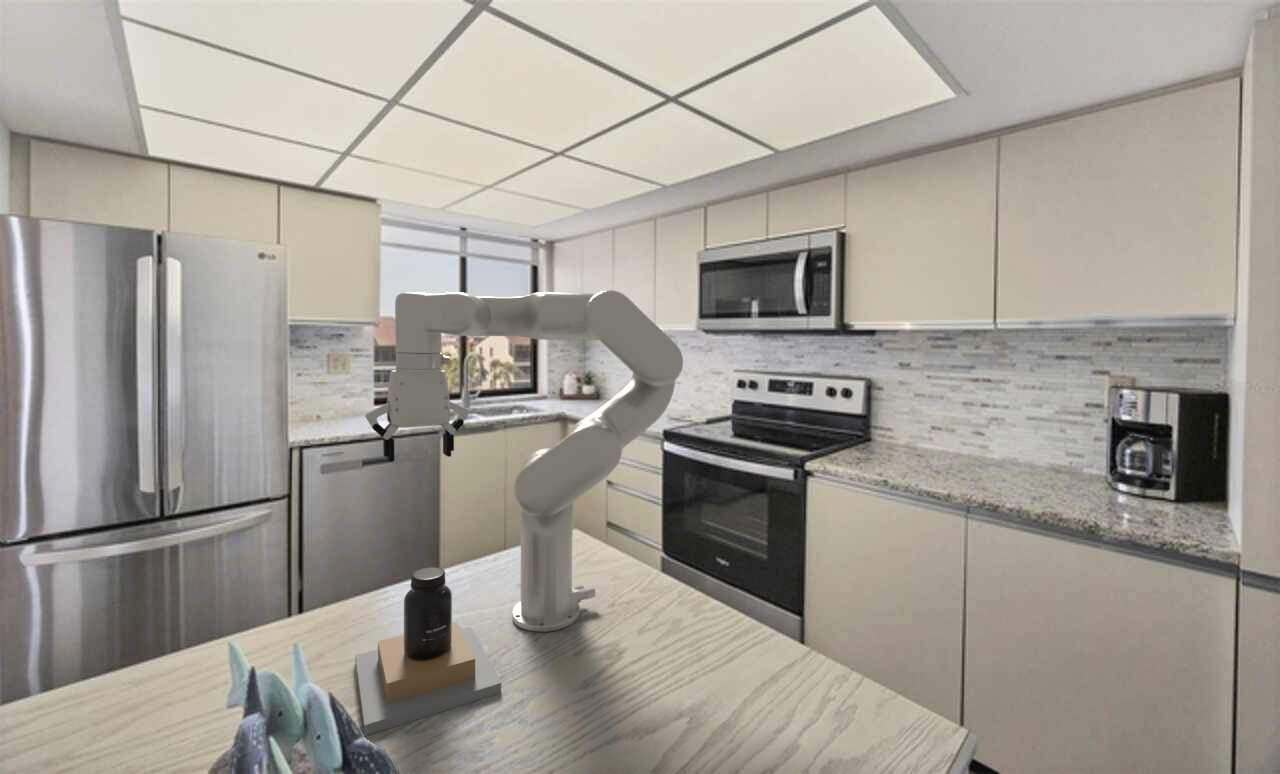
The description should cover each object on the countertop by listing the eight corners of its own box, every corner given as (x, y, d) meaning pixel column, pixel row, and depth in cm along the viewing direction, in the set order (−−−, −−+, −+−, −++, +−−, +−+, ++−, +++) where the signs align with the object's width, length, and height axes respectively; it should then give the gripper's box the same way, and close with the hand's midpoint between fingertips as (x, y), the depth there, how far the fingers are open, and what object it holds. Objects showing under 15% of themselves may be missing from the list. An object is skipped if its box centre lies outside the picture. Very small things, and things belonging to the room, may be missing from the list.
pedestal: (470, 634, 96) (470, 609, 95) (501, 692, 80) (501, 663, 80) (355, 664, 86) (354, 636, 86) (364, 736, 71) (364, 703, 71)
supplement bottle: (435, 665, 79) (434, 585, 78) (394, 658, 81) (392, 580, 79) (460, 639, 86) (460, 566, 85) (422, 634, 87) (420, 561, 86)
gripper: (462, 362, 105) (462, 449, 106) (361, 362, 95) (363, 458, 97) (473, 364, 98) (473, 457, 100) (367, 364, 89) (369, 467, 90)
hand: (419, 457), depth 98 cm, fingers open, 9 cm apart
